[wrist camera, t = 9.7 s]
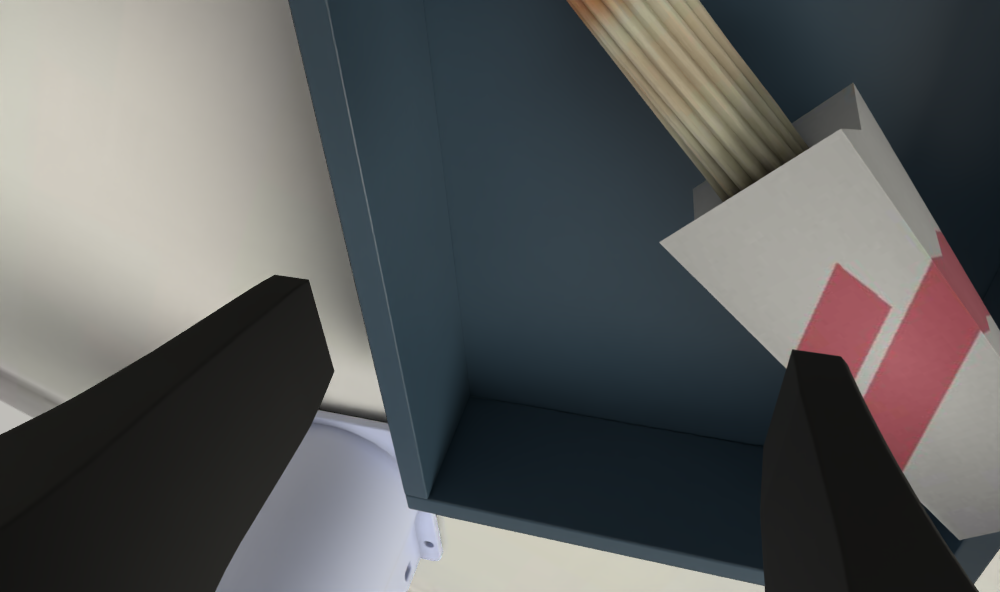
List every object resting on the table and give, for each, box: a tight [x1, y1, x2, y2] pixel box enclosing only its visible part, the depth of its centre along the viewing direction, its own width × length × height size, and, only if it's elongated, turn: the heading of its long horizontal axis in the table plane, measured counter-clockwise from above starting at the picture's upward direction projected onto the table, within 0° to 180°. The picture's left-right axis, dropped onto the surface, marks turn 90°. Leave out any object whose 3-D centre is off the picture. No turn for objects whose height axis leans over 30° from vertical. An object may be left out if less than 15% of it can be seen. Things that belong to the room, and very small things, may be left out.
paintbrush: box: [566, 0, 1000, 540], centre depth 14 cm, size 4×3×20 cm
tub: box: [288, 0, 1000, 586], centre depth 15 cm, size 26×16×5 cm, turn 3°
